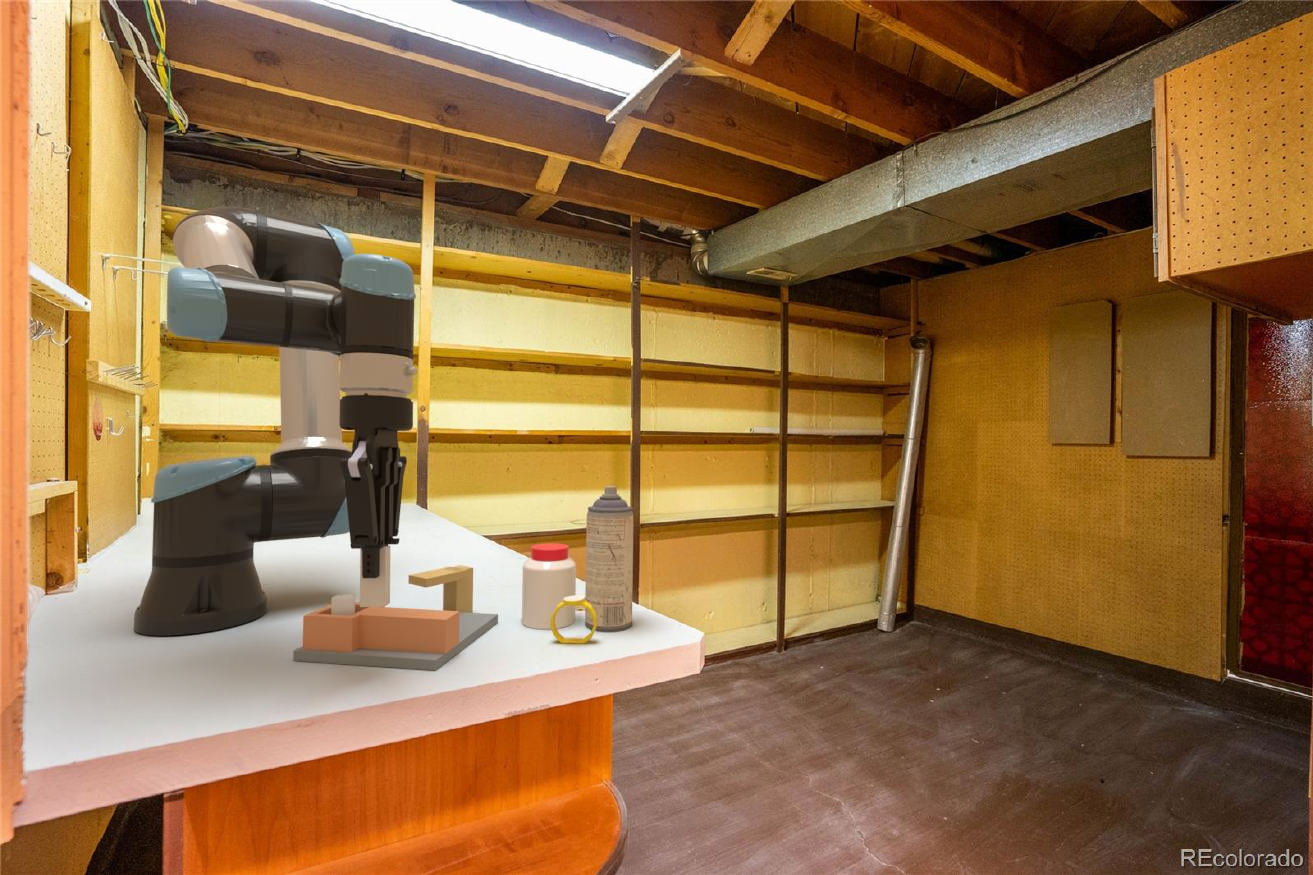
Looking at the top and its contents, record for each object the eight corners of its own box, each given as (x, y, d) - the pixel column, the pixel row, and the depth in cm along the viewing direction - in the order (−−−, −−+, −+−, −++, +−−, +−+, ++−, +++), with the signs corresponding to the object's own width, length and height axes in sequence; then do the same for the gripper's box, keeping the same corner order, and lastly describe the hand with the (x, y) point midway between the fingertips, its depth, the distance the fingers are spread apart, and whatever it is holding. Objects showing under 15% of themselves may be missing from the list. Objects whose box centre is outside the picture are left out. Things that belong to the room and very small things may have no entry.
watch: (550, 648, 76) (547, 602, 76) (554, 640, 79) (551, 596, 79) (596, 645, 76) (594, 599, 76) (598, 637, 79) (596, 593, 79)
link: (302, 649, 70) (303, 615, 70) (338, 631, 77) (338, 601, 77) (439, 658, 68) (439, 623, 68) (464, 639, 74) (464, 608, 74)
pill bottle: (564, 631, 82) (565, 552, 82) (512, 627, 83) (513, 549, 83) (582, 615, 89) (583, 543, 89) (534, 611, 91) (535, 540, 91)
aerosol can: (641, 624, 85) (643, 487, 85) (606, 635, 80) (608, 489, 80) (610, 614, 90) (612, 484, 90) (575, 624, 85) (577, 486, 85)
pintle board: (293, 660, 70) (294, 600, 70) (397, 608, 91) (398, 562, 91) (435, 670, 67) (436, 607, 67) (508, 614, 89) (508, 567, 89)
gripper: (390, 390, 60) (387, 621, 60) (429, 400, 73) (427, 590, 73) (313, 389, 60) (310, 623, 59) (366, 400, 73) (364, 591, 72)
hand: (375, 604), depth 66 cm, fingers closed
